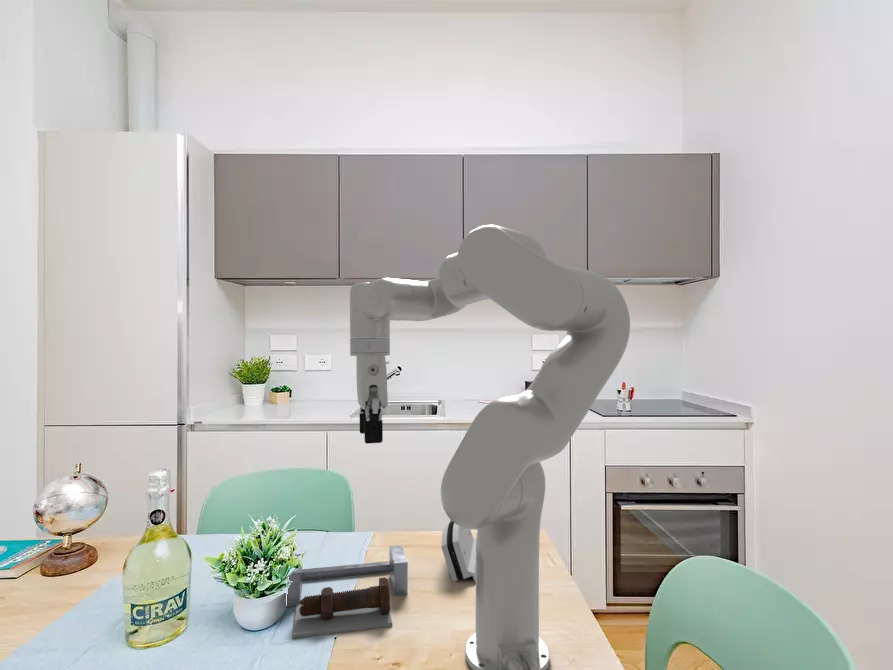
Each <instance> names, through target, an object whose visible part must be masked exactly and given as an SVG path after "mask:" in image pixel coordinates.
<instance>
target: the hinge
mask: <svg viewBox="0 0 893 670" xmlns="http://www.w3.org/2000/svg"><path fill="white" fill-rule="evenodd" d="M441 549H442V553H443V557H444V560H445V563H446V567H447V570H448V573H449V576H450V579H451V582H458V581H459V579H460V577H461V578H463V580H466V579H468V578H470V577H472V579H473V581H474V583H476V538H474V536H473V534H472V529H467V528H463V527H460V526H458V525H457V524H455V523H454V522H452V521H451V520H450V519H449V520H448V521H446V522H445V523H444V525H443V527H442V534H441Z"/></svg>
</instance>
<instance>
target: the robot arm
mask: <svg viewBox="0 0 893 670" xmlns="http://www.w3.org/2000/svg"><path fill="white" fill-rule="evenodd" d="M489 299H490V300H492V301H493V302H494V303H496V304H497V305H498V306H499V307H501V308H502V309H503V310H505V311H506V312H507V313H510V315H512V316H513V317H515V318H516V319H518V320H519V321H521V322H522V323H524V324H526V325H528V326H530V327H532V328H534V329H537V330H540V331H547V332H555V331H556V332H566V334H565V336H564V337H563V338H562V340H561V342H559V343H558V345H557V346H556V347H555V348H554V349H552V351H551V352H550V353H549V355H548V356H547V357H546V359H545V360H544V362H543V364H542V365H541V368H540V369H539V371H538V373H537V374H536V375H535V378H534V379H533V381H532V382H531V383H530V385H529V386H528V387H527V388H526V389H525V390H524V391H522V392H521V393H518V394H513V395H507V396H504V397H500V398H497V399H495V400H493V401H490V402H489V403H488V404H487V405H485V406H484V407H483V408H482V409H481V410H480V411H479V412H478V413H477V415H476V416H475V417H474V419H473V420H472V422H471V424H470V426H469V427H468V429H467V431H466V433H465V435H464V437H463V438H462V439H461V442H460V443H459V445H458V447H457V449H456V450H455V452H454V454H453V456H452V458H451V459H450V462H449V463H448V465H447V467H446V469H445V471H444V474H443V476H442V480H441V483H440V484H441V486H440V500H441V505H442V508H443V510H444V512H445V514H446V516H447V517H448V519H449V521H450V520H451V521H452V522H454V523H455V524H457V525H458V526H460V527H463V528H467V529H470V530H476V536H475V537H476V538H475V539H476V582H475V633H474V634H472V635H471V636H470V637H469V638H468V640H467V641H466V644H465V647H464V648H465V649H464V650H465V651H464V652H465V653H464V654H465V659H466V662H467V664H468V665H469V667H470V668H471V669H472V670H547V669H548V668H549V664H550V651H549V648H548V646H547V644H546V643H545V642H544V641H543V639H541V637H540V628H539V627H540V533H541V532H540V531H541V521H542V520H541V519H542V513H543V509H544V508H543V507H544V500H545V493H546V476H545V471H544V468H543V465H542V464H541V462H543V461H546V460H549V459H550V458H553V457H555V456H557V455H558V454H560V453H561V452H562V451H564V449H566V447H567V445H568V444H569V442H570V441H571V439H572V437H573V436H574V434H575V432H576V430H577V429H578V428H579V426H580V424H581V423H582V421H583V420H584V419H585V417H586V416H587V414H588V412H589V411H590V409H591V408H592V407H593V405H594V403H595V401H596V400H597V397H598V396H599V395H600V393H601V392H602V390H603V388H604V387H605V385H606V384H607V382H608V381H609V379H610V378H611V377H612V376H613V375H612V374H613V373H614V372H615V370H616V369H617V367H618V365H619V363H620V361H621V359H622V358H623V356H624V353H625V352H626V349H627V346H628V343H629V337H630V333H631V332H630V331H631V318H630V312H629V308H628V305H627V303H626V302H627V301H626V300H625V298H624V296H623V295H622V292H621V291H620V290H619V289H618V287H617V286H616V284H614V283H613V282H612V281H611V280H610V279H609V278H607V277H605V276H604V275H602V274H600V273H598V272H595V271H592V270H590V269H589V270H588V269H585V268H584V269H583V268H580V267H572V266H567V265H563V264H560V263H559V264H558V263H556V262H553V261H552V260H550V259H548V258H547V253H546V251H545V249H544V247H543V245H542V244H541V242H539V241H538V240H537V239H536V238H535V237H533V236H532V235H531V234H529V233H525V232H522V231H519V230H514V229H512V228H507V227H503V226H501V225H495V224H487V225H486V224H485V225H481V226H478V227H476V228H474V229H473V230H471V231H470V232H468V233H467V234H466V236H464V238H463V239H462V240H461V243H460V244H459V246H458V251H457V252H455V253H452V254H450V255H447V256H446V257H445V258H444V259H443V260H442V262H441V264H440V266H439V268H438V277H436V278H432V279H430V280H423V281H422V280H421V281H420V280H412V279H405V278H403V279H402V278H394V277H393V278H392V277H382V278H378V279H375V280H373V281H367V282H363V281H362V282H357V283H354V284H352V285H351V286H350V289H349V352H350V353H349V355H350V357H356V358H355V359H356V364H355V365H356V369H355V370H356V392H357V393H356V397H357V403H358V405H359V406H360V409H359V411H360V413H359V433H360V434H363V435H364V443H365V444H380V443H383V441H384V440H383V438H384V437H383V435H384V433H383V424H384V423H383V420H382V419H383V415H382V408H383V409H387V408H388V406H389V402H388V400H389V398H388V396H389V395H388V377H387V376H388V375H387V374H388V373H387V372H388V371H387V361H386V356H390V355H391V346H390V345H391V331H390V330H391V323H390V322H391V321H411V322H412V321H413V322H424V321H425V322H427V321H430V320H436V319H438V318H443V317H447V316H450V315H453V314H455V313H458V312H460V311H461V310H462V309H465V307H467V306H468V305H471V304H475V303H478V302H482V301H486V300H489Z"/></svg>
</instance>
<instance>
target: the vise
mask: <svg viewBox="0 0 893 670" xmlns="http://www.w3.org/2000/svg"><path fill="white" fill-rule="evenodd" d="M301 554H302V553H298V554H296V553H295V556H297V557H298V556H300V555H301ZM408 568H409V566H408V559H407V556H406V552H405V549H404V548H403V545H402V544H399V545H390V546H389V560H388V561H379V562H378V561H377V562H367V563H355V564H344V565H337V566H336V565H335V566H333V565H332V566H324V567H313V568H312V567H311V568H303V565H302V566H301V567H300V568H298V569H297V570H296V571H294V572H293V573H292V574H291V575H290V576H289V580H290V581H293V582H292V583H291V585H290V586H289V588H288V594H287V607H286V608H293V607H296V606H297V605H300V600H302V591H303V590H302V589H303V581H310V580H311V579H312V580H319V578H322V579H330V578H340V577H352V576H361V575H373V574H382V573H383V574H384V573H389V579H390V582H391V583H390V584H391V588H392V592H393V595H394V596H403V595H408V586H409V585H408V582H409V581H408V580H409V579H408V577H409V575H408V570H409V569H408ZM308 579H309V580H308Z"/></svg>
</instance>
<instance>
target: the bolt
mask: <svg viewBox="0 0 893 670" xmlns="http://www.w3.org/2000/svg"><path fill="white" fill-rule="evenodd" d="M389 582H390V581H389V579H388V577H386V576H385V577H379V578H378V585H374V586H369V587H365V588H357V589H350V590H349V589H348V590H347V591H346V590H345V591H344V590H343V591H341V592H340V591H337V592H336V591H335V592H334V589H333V588H332V587H331V586H328V587H323V588H322V589H321V592H320V594H313V595H307V596H306V595H305V596H304V597H303V598H301V600H300V605H302V606H301V607H300V609H299V611H300V615H301V616H302V617H303V616H304V617H305V616H306V617H307V616H308V617H309V615H310V616H311V615H312V616H313V615H319V614H320V615H321V616H322V619H323V620H331V619H332V618H333V613H334V612H340V611H341V612H342V611H350V610H356V609H357V610H358V609H364V608H379V607H380V610H381V615H386V614H388V613H389V612H390V613H391V593H390V584H389Z"/></svg>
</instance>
